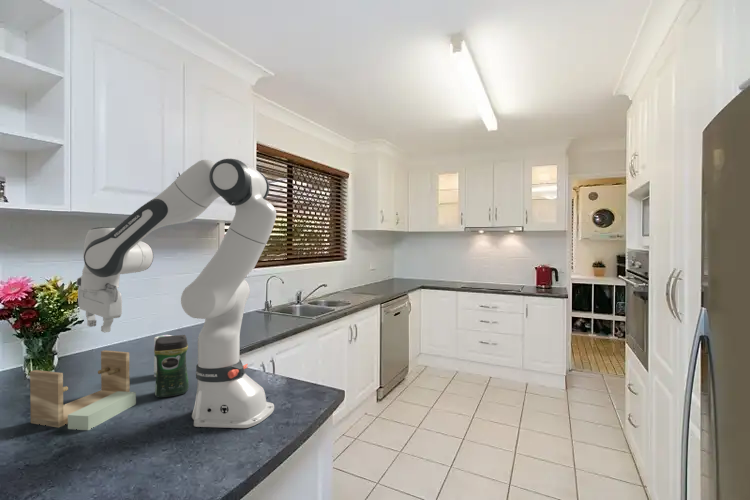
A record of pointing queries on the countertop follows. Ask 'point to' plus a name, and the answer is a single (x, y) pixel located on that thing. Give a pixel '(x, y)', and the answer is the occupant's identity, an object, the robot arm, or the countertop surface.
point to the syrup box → (155, 355)
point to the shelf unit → (50, 389)
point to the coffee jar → (171, 366)
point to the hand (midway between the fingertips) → (98, 328)
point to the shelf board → (101, 410)
